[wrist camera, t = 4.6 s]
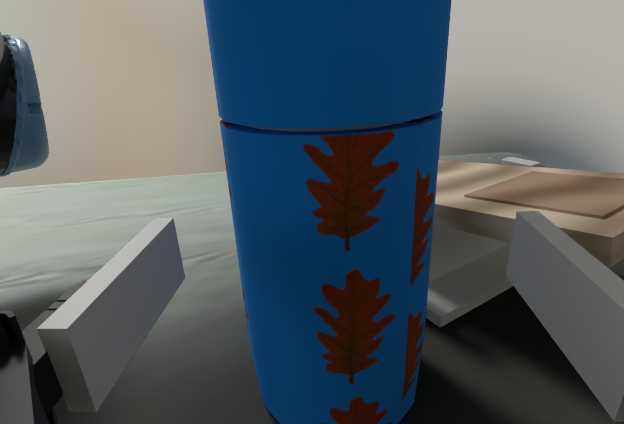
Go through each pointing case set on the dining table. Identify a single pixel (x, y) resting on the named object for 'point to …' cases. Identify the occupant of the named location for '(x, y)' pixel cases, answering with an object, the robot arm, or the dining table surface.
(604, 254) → the beam
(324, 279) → the thermos
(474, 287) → the fulcrum
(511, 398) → the dining table surface
